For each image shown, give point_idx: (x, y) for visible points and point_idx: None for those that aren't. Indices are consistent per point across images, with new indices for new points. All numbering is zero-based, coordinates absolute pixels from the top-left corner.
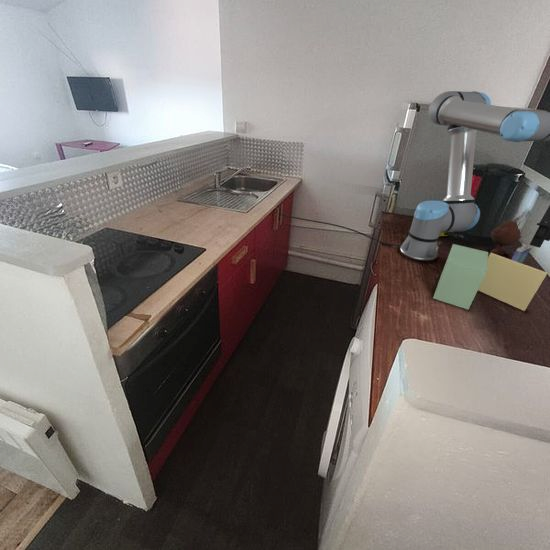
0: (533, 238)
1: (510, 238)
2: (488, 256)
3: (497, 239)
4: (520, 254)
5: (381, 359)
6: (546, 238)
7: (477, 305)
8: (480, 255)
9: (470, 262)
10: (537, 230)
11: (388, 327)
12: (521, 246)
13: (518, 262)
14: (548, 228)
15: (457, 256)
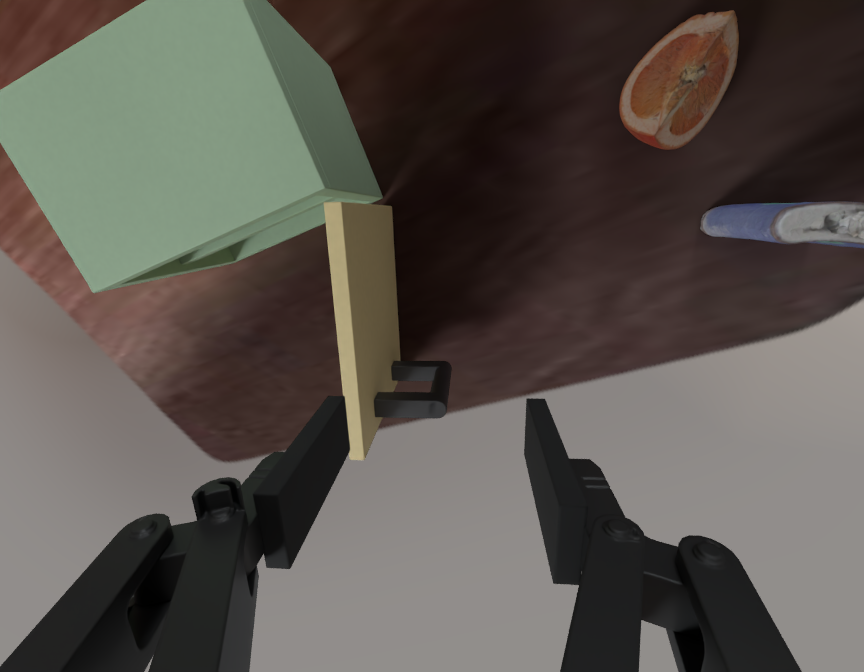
0: (309, 425)
1: None
2: (666, 115)
3: None
4: (768, 238)
5: None
6: (528, 445)
7: (286, 269)
8: (233, 182)
9: (96, 194)
10: (276, 465)
11: None
12: (861, 212)
13: (353, 346)
14: (266, 552)
15: (85, 103)
